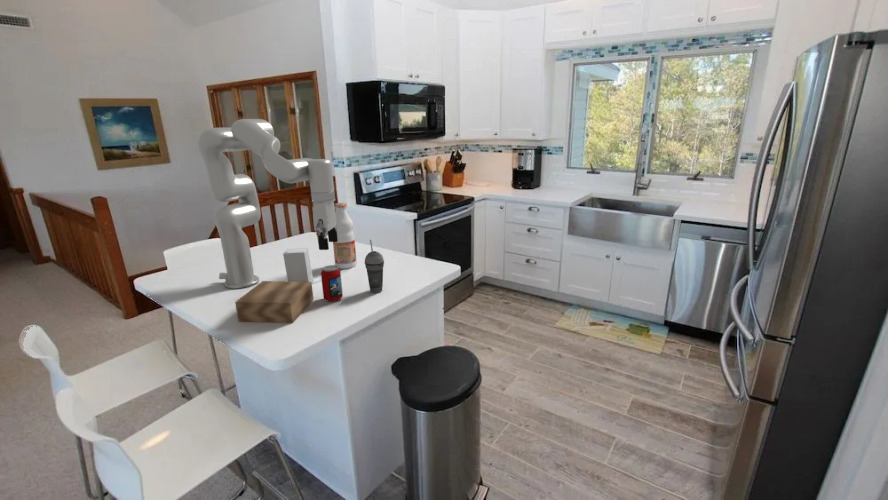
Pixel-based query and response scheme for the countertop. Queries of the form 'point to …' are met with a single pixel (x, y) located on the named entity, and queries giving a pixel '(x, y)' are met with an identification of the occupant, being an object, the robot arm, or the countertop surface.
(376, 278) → the beverage cup
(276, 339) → the countertop surface
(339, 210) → the fruit juice
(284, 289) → the walnut block
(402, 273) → the countertop surface
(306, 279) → the skincare box
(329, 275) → the beverage can
